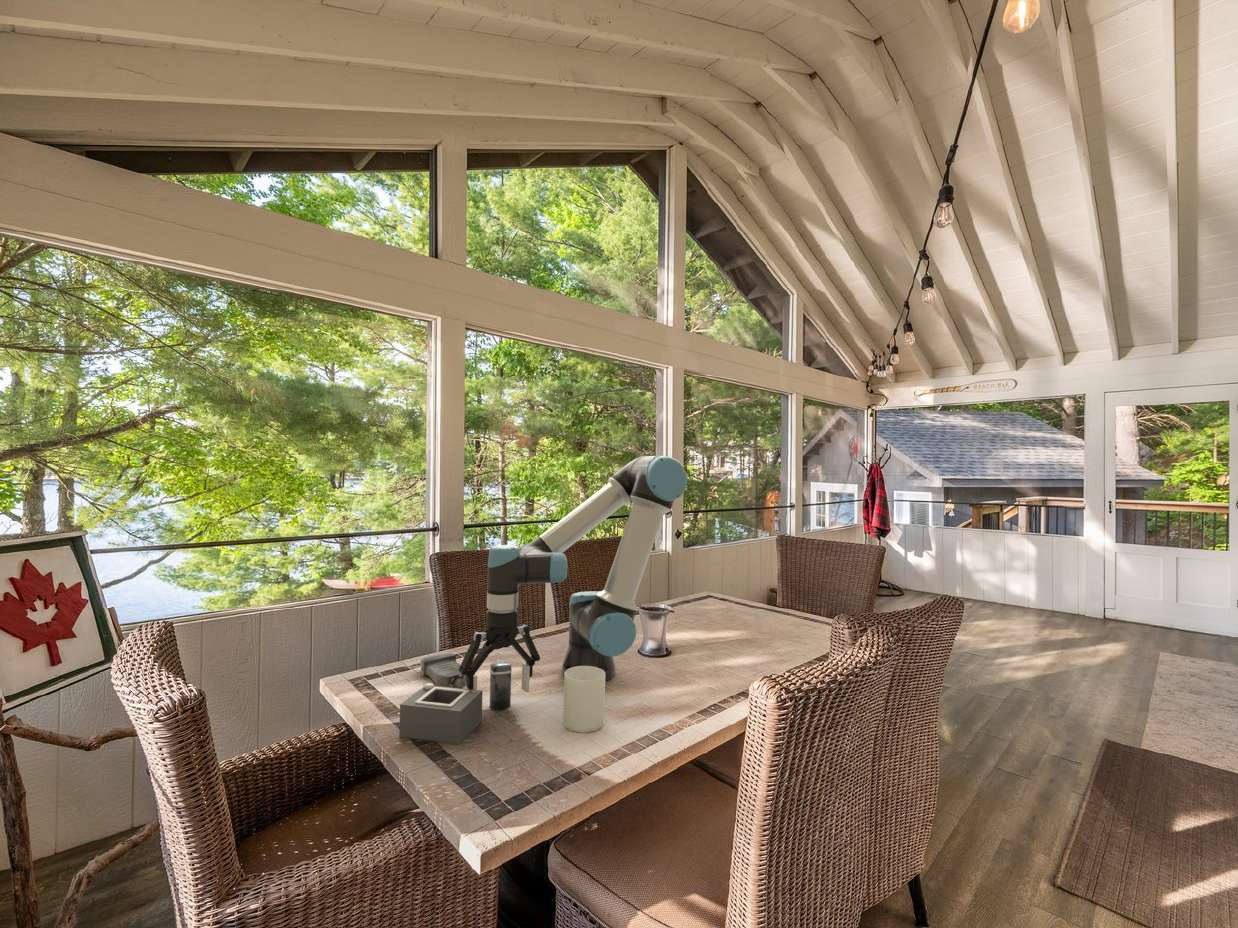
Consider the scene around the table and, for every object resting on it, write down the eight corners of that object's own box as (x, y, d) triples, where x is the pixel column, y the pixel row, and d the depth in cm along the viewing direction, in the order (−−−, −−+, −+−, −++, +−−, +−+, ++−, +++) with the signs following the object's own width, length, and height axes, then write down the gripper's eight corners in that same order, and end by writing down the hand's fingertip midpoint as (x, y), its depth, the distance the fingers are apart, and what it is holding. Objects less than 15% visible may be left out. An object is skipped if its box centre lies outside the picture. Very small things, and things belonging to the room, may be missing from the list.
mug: (588, 737, 123) (589, 684, 123) (546, 723, 129) (547, 672, 129) (612, 721, 131) (613, 671, 131) (571, 708, 137) (572, 660, 137)
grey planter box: (481, 720, 130) (482, 687, 130) (459, 744, 119) (460, 707, 119) (425, 714, 132) (426, 681, 132) (399, 736, 121) (400, 700, 121)
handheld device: (443, 696, 143) (444, 677, 143) (415, 672, 159) (415, 656, 159) (479, 687, 150) (479, 669, 150) (448, 665, 165) (448, 649, 165)
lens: (514, 702, 140) (515, 661, 140) (506, 711, 135) (507, 669, 135) (494, 700, 141) (495, 659, 141) (485, 709, 136) (486, 667, 136)
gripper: (541, 600, 148) (538, 680, 148) (446, 611, 134) (444, 701, 134) (554, 606, 142) (552, 690, 142) (457, 619, 128) (454, 713, 128)
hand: (499, 695), depth 138 cm, fingers open, 13 cm apart
